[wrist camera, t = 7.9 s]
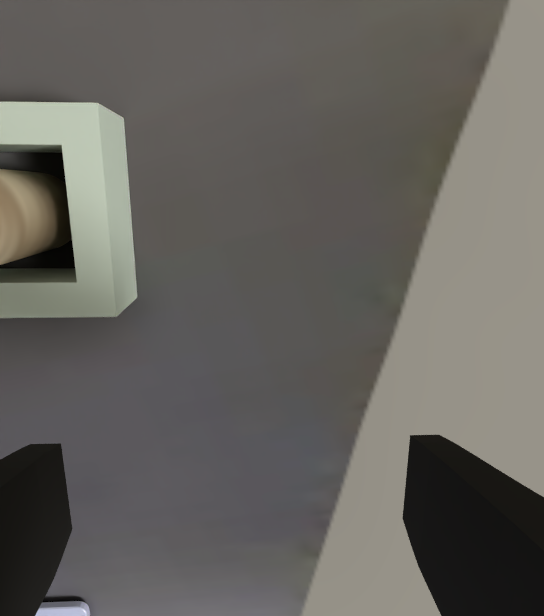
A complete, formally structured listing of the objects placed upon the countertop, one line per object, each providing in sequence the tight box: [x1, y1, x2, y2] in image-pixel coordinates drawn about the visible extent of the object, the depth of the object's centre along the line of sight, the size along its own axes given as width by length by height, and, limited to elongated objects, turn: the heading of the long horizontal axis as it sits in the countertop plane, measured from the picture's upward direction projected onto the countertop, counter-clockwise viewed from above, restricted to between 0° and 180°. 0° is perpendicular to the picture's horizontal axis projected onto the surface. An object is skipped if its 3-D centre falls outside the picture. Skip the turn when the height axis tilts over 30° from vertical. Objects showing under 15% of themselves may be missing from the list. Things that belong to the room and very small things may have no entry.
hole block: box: [0, 102, 137, 318], centre depth 16 cm, size 7×7×3 cm
